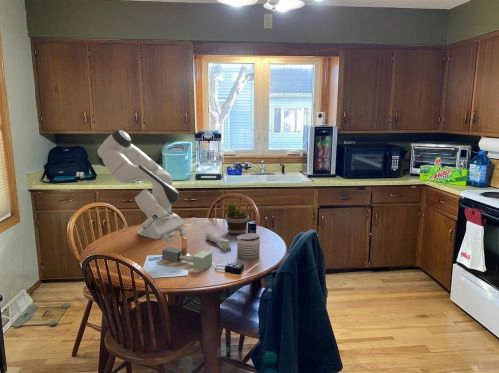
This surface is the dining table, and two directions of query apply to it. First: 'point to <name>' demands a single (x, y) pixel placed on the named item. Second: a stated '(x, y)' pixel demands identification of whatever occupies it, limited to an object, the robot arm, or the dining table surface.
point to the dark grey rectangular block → (171, 254)
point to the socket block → (202, 260)
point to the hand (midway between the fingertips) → (177, 239)
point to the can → (248, 246)
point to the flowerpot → (236, 220)
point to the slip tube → (185, 252)
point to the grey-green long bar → (219, 241)
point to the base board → (181, 265)
